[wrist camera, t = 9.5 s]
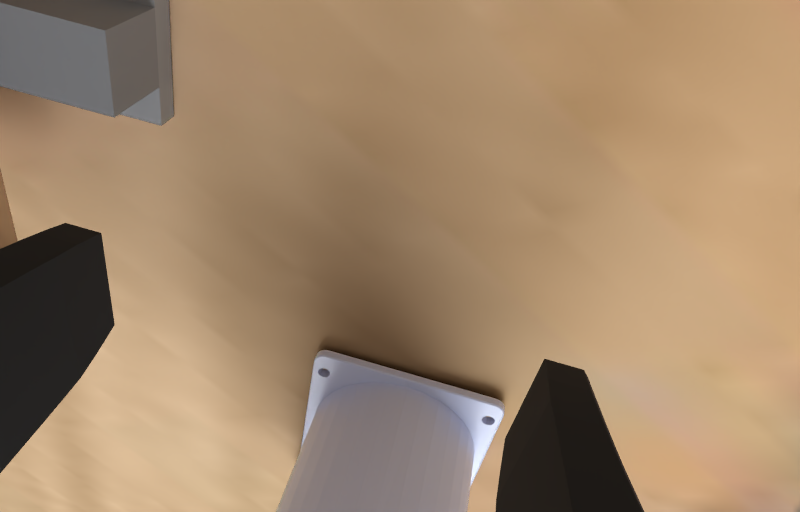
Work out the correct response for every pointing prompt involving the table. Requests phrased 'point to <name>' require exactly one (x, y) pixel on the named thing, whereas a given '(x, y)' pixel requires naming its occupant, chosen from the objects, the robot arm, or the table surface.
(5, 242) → the batten
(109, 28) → the ridge
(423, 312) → the table surface
